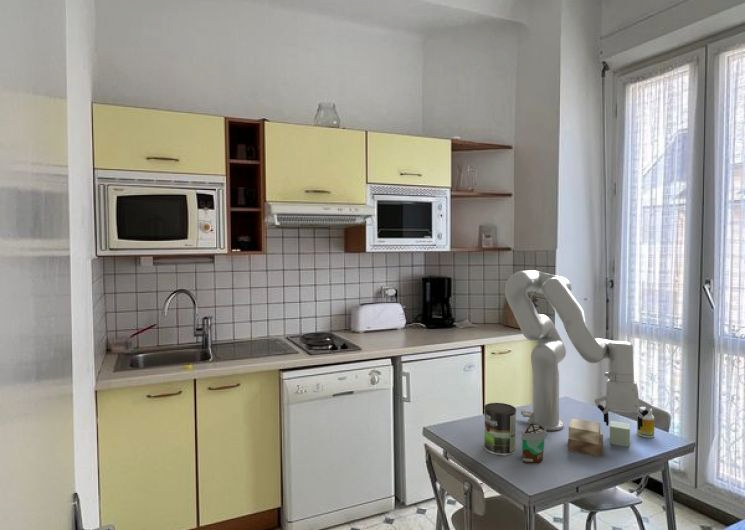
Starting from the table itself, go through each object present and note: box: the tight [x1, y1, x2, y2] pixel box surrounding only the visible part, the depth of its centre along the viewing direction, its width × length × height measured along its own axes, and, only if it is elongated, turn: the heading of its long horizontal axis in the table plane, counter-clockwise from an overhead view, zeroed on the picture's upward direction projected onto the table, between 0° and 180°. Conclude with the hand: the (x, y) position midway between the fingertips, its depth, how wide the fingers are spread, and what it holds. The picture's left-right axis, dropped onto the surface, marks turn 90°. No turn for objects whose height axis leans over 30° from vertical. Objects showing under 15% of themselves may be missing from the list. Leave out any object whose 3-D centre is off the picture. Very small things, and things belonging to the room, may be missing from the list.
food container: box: [521, 421, 548, 465], centre depth 145 cm, size 12×6×10 cm, turn 148°
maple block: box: [567, 418, 601, 444], centre depth 154 cm, size 9×9×4 cm
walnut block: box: [567, 433, 604, 457], centre depth 154 cm, size 10×10×4 cm
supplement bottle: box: [636, 406, 655, 439], centre depth 164 cm, size 5×5×10 cm
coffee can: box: [483, 402, 517, 457], centre depth 153 cm, size 10×10×14 cm
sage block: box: [609, 420, 631, 448], centre depth 158 cm, size 6×6×6 cm
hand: (623, 426), depth 158 cm, fingers open, 9 cm apart
